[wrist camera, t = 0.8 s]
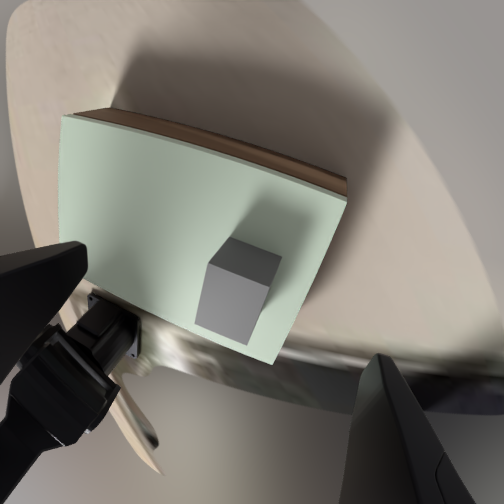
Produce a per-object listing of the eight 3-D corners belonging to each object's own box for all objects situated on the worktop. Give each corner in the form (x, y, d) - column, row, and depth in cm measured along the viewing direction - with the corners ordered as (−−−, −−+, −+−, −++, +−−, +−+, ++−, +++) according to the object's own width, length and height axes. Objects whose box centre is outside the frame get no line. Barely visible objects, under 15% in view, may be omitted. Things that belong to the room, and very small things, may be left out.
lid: (274, 356, 21) (261, 398, 18) (67, 261, 23) (36, 284, 20) (347, 197, 15) (347, 225, 12) (70, 114, 17) (27, 123, 14)
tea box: (286, 319, 25) (275, 354, 22) (98, 239, 27) (70, 259, 23) (346, 177, 19) (346, 195, 16) (109, 107, 21) (73, 113, 17)
